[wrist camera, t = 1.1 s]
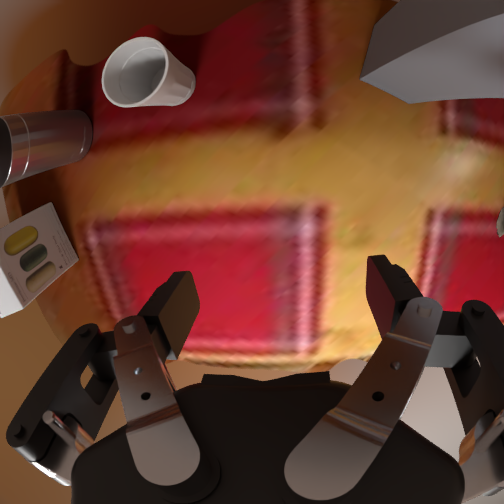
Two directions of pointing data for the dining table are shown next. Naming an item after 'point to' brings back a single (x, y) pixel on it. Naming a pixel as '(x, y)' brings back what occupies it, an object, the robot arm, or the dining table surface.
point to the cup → (146, 75)
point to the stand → (438, 50)
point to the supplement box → (32, 257)
